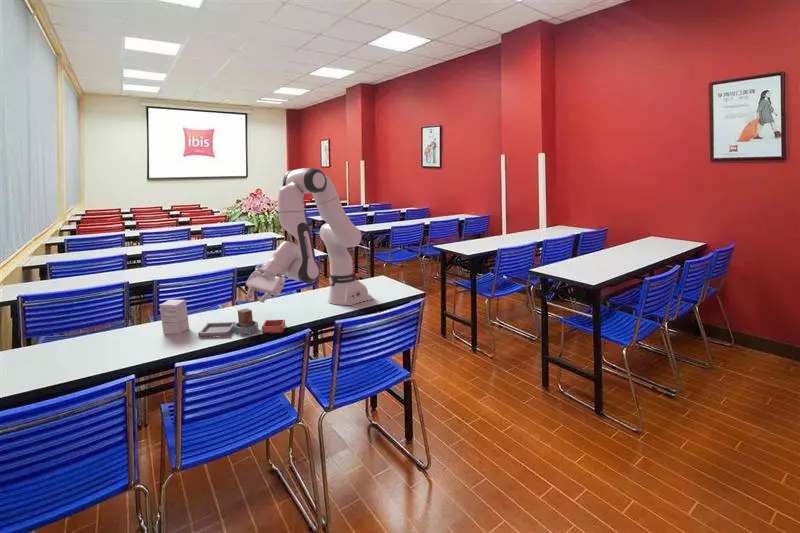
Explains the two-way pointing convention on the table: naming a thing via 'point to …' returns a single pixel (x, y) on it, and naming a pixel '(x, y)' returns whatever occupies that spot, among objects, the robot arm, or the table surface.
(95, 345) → the table surface
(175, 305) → the supplement box
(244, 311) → the walnut block
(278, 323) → the bin
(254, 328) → the grey octagonal bowl
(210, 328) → the slate tray
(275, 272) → the robot arm
